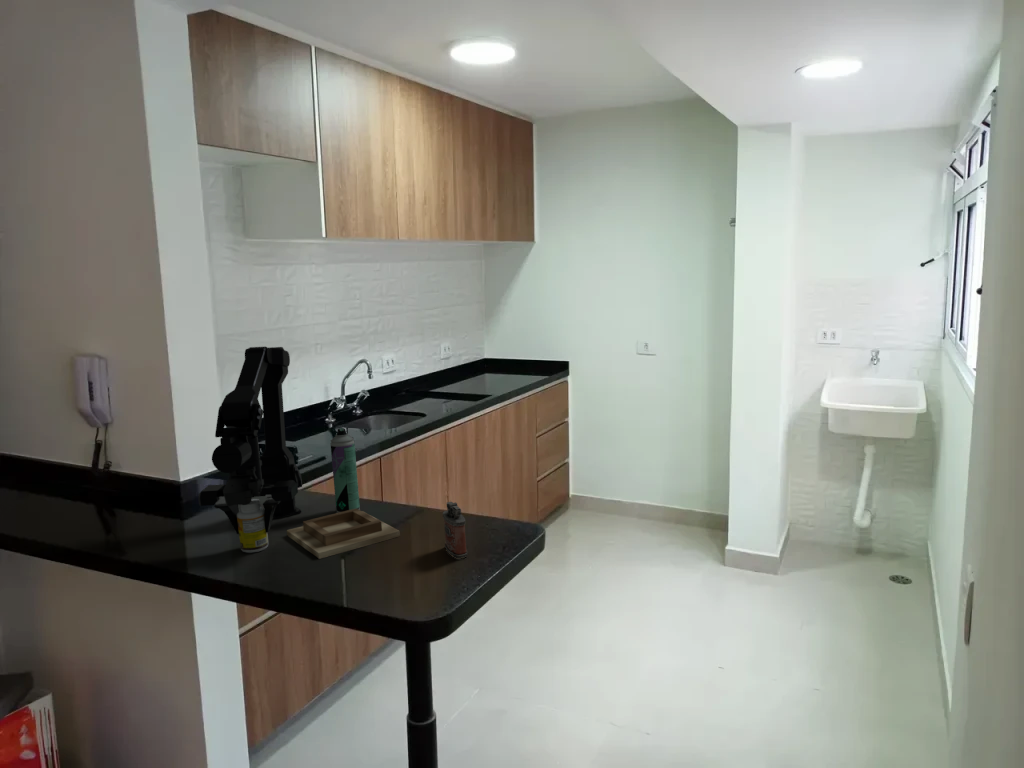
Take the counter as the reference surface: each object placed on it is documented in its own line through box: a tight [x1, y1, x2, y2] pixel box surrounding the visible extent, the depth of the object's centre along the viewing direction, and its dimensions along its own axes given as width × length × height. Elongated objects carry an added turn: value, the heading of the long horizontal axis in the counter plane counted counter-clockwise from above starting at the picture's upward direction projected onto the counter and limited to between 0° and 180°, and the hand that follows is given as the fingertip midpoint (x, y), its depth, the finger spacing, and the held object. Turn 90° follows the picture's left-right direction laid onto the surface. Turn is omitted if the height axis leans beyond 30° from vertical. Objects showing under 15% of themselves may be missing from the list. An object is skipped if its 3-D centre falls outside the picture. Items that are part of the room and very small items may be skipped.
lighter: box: [442, 501, 468, 558], centre depth 148 cm, size 8×3×10 cm, turn 23°
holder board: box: [286, 509, 401, 560], centre depth 160 cm, size 18×18×3 cm
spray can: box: [330, 427, 361, 513], centre depth 176 cm, size 6×6×20 cm
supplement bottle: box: [237, 498, 269, 554], centre depth 155 cm, size 6×6×10 cm
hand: (253, 532), depth 155 cm, fingers closed on supplement bottle, 5 cm apart
